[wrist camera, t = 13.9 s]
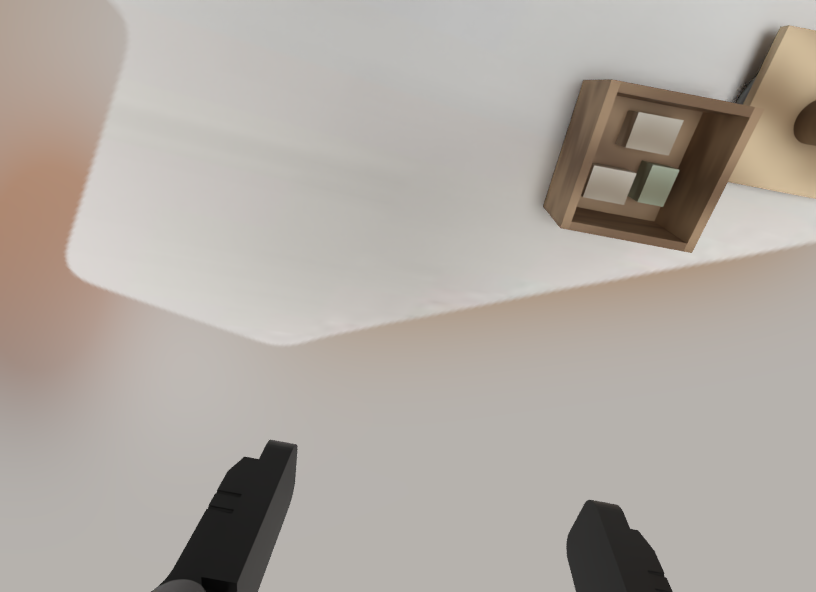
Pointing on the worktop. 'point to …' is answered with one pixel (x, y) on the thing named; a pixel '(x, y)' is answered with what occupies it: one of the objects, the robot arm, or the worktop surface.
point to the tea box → (646, 162)
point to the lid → (783, 118)
